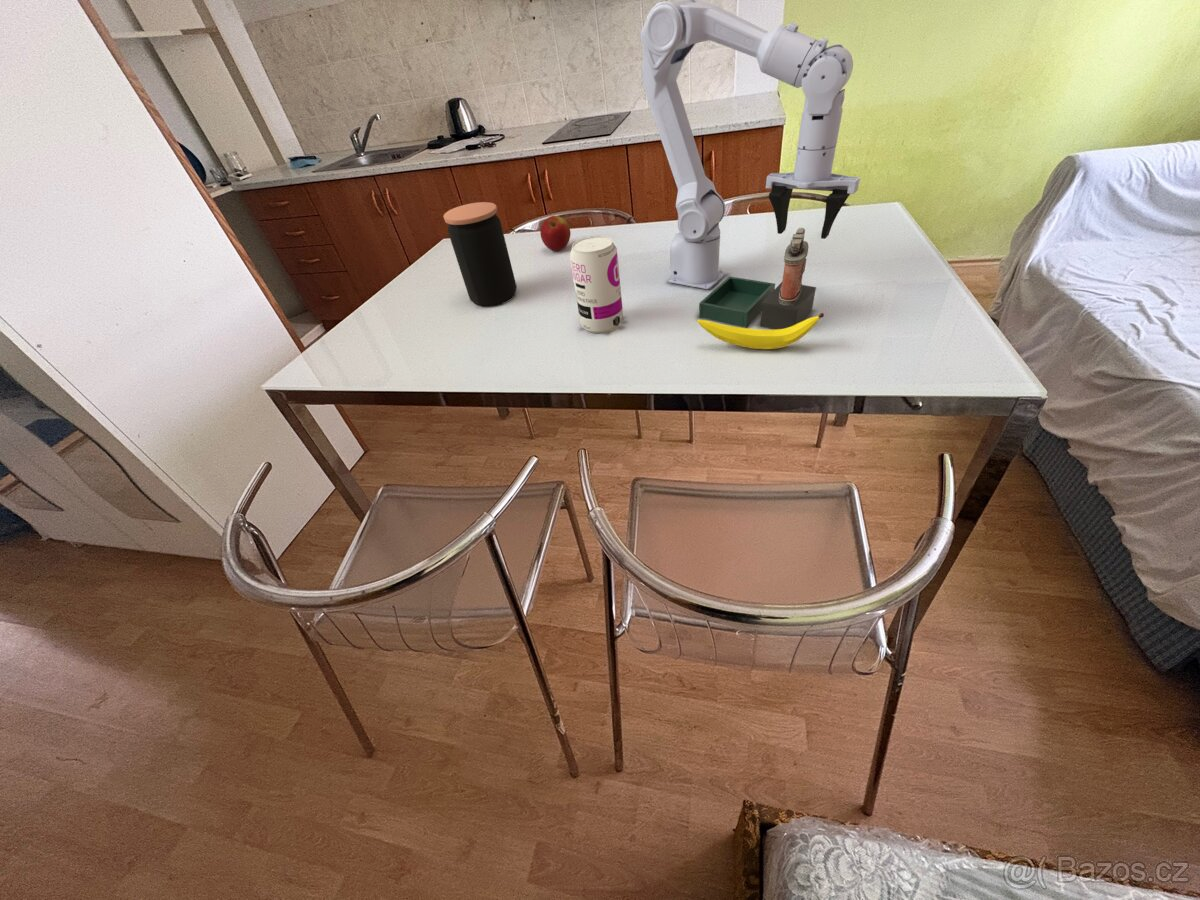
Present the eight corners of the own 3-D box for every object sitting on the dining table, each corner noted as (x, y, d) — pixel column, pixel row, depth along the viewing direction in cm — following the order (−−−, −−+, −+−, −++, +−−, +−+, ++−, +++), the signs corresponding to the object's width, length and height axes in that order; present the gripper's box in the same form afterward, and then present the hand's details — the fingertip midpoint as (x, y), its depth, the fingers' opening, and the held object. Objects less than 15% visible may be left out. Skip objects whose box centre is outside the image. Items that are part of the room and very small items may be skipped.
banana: (697, 341, 83) (697, 307, 79) (816, 345, 78) (823, 308, 74) (695, 350, 81) (695, 316, 77) (817, 354, 76) (824, 318, 72)
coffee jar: (526, 288, 108) (506, 202, 96) (501, 310, 102) (475, 220, 90) (488, 284, 112) (464, 201, 100) (460, 305, 106) (431, 219, 94)
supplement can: (628, 314, 93) (622, 234, 83) (616, 336, 88) (607, 253, 78) (589, 312, 96) (578, 234, 86) (575, 333, 90) (561, 253, 80)
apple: (537, 254, 123) (530, 221, 118) (555, 242, 128) (549, 210, 122) (561, 257, 120) (555, 223, 114) (579, 245, 124) (574, 212, 119)
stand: (759, 326, 84) (762, 302, 81) (778, 305, 89) (781, 281, 86) (794, 333, 81) (798, 308, 78) (811, 311, 86) (816, 287, 83)
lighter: (797, 306, 79) (807, 243, 72) (775, 304, 80) (783, 243, 74) (803, 284, 84) (814, 224, 77) (783, 283, 85) (791, 224, 79)
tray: (698, 317, 89) (699, 303, 87) (728, 290, 96) (729, 276, 94) (746, 327, 85) (747, 312, 83) (773, 298, 91) (775, 283, 89)
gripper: (762, 151, 78) (754, 237, 87) (857, 153, 71) (837, 247, 80) (779, 140, 82) (769, 224, 91) (871, 141, 75) (851, 232, 84)
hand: (802, 234), depth 86 cm, fingers open, 7 cm apart
